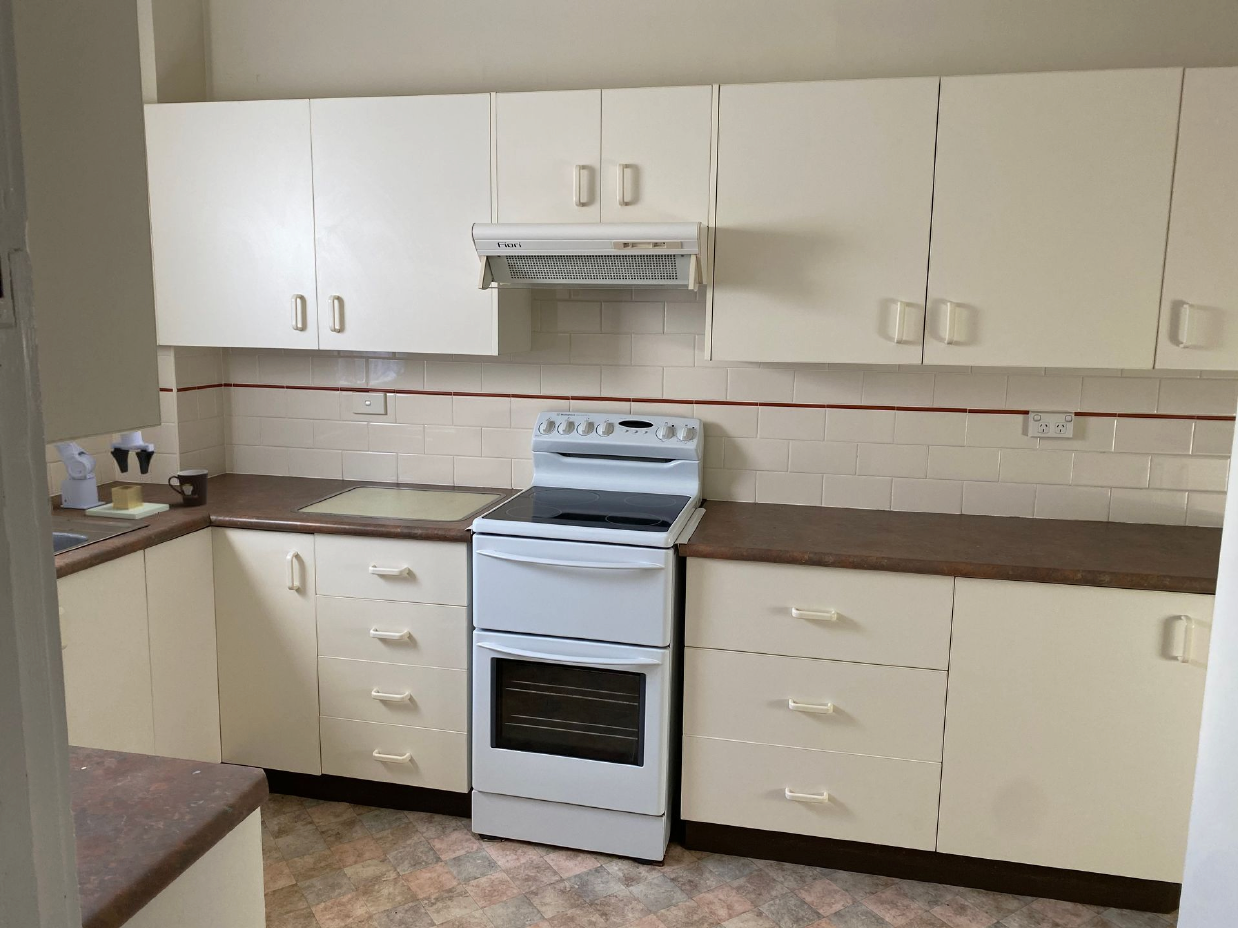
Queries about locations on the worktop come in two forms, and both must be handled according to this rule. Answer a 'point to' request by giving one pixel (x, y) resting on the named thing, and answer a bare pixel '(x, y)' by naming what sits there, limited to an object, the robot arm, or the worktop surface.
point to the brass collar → (127, 497)
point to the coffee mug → (192, 487)
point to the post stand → (127, 511)
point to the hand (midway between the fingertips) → (134, 473)
